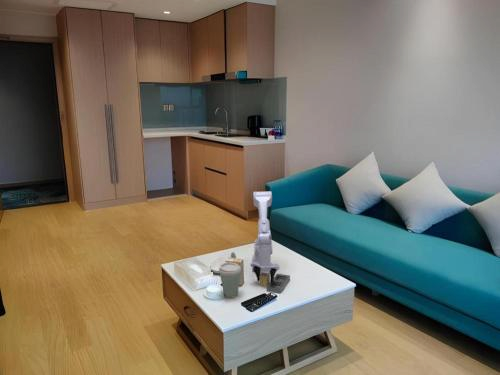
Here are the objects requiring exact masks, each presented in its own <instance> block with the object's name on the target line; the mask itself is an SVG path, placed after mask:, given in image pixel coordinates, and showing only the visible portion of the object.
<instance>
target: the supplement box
mask: <svg viewBox="0 0 500 375" xmlns="http://www.w3.org/2000/svg"><path fill="white" fill-rule="evenodd" d="M226 262H231V263H236V264H238V265H239V266H240V267H241V271H240V279H239V287H242V286H243V284H244V283H245V273H244V272H245V270H244V268H245V267H244V265H245V264H244V258H239V257H236V258H231V257H229V258H228V259H227V260H226Z"/></svg>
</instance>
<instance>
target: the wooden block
mask: <svg viewBox="0 0 500 375" xmlns="http://www.w3.org/2000/svg"><path fill="white" fill-rule="evenodd" d="M259 278H260V281H259V286H260V287H266V288H267V286H268V285H269V283H270V272H269V273H263V272H262V273H260V275H259Z"/></svg>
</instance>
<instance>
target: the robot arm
mask: <svg viewBox="0 0 500 375" xmlns="http://www.w3.org/2000/svg"><path fill="white" fill-rule="evenodd" d="M252 193H253V198H252V200H253V206H254V207H256V208H257V209H258V221H257V228H258V234H257V238H256V239H255V240H254V243H253V249H254V250H253V251H254V253H253V255H252V259H251V262H250V267H251V272H254V274H255V277H256V280H257V282H260V278H259V275H260V274H261V273H262V272H263V273H270V282H272V281H273V279H274V277H275V276H276V274H277V271H279V270H280V265H279V264H274V263H272V261H271V258H272V257H271V255H273V241H272V234H271V228H270V227H271V226H270V220H269V219H268V218H267V217H268V208H269V207H271V206H272V202H273V195H272V194H273V193H272V191H271V190H269V191H253V192H252Z"/></svg>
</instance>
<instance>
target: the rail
mask: <svg viewBox="0 0 500 375" xmlns="http://www.w3.org/2000/svg"><path fill="white" fill-rule="evenodd" d="M290 280H291V275H289V274H282V273H275V275H274V279H273V281H272V282H270V283H269V285H268V286H267V287H266V292H268V293H269V292H270V293H274V294H275V293H276V294H282V292H283V291H284V289H285V288H286V286H288V283H289V282H290Z"/></svg>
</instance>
